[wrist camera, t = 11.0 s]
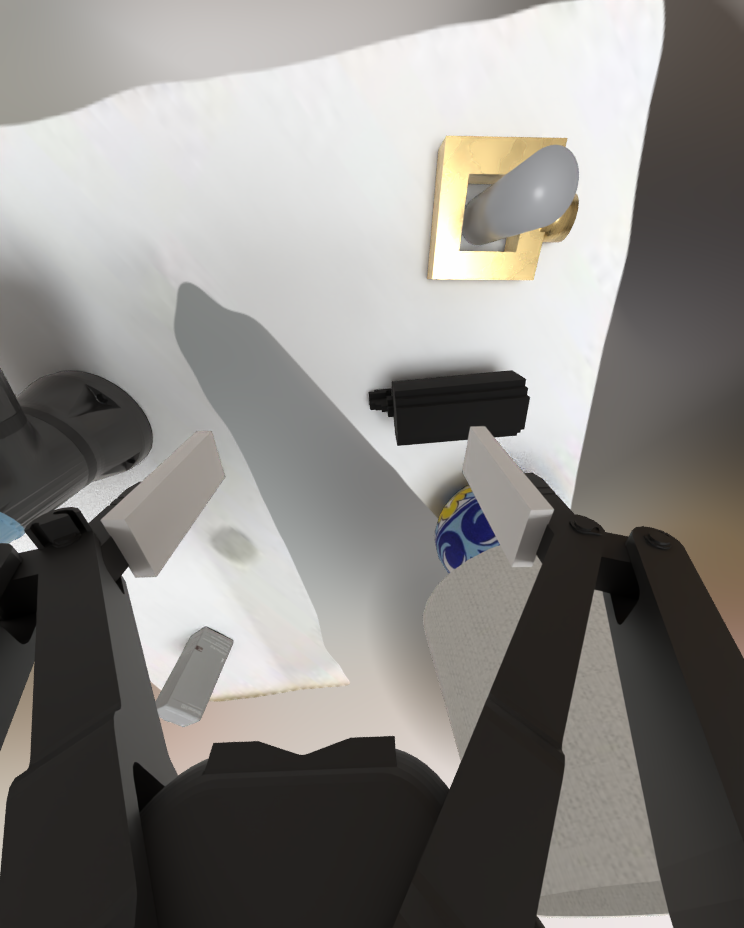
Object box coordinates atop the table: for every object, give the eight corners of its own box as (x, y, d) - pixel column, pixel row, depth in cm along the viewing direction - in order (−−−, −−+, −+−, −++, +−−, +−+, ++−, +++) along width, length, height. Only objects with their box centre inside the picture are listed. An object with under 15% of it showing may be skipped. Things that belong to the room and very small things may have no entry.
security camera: (367, 374, 42) (367, 398, 33) (504, 361, 41) (539, 382, 33) (371, 420, 46) (372, 453, 37) (497, 409, 45) (528, 440, 36)
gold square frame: (427, 278, 36) (433, 278, 33) (438, 149, 31) (447, 133, 27) (540, 280, 36) (558, 280, 33) (572, 152, 31) (598, 136, 27)
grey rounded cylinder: (458, 245, 35) (507, 227, 23) (464, 194, 32) (523, 144, 20) (497, 245, 35) (566, 228, 23) (506, 194, 32) (588, 145, 20)
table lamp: (480, 412, 45) (840, 838, 11) (594, 494, 53) (1008, 886, 19) (376, 528, 57) (390, 913, 22) (483, 581, 65) (614, 923, 30)
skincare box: (234, 640, 75) (205, 720, 61) (216, 650, 77) (184, 730, 63) (204, 624, 71) (166, 706, 58) (187, 636, 73) (146, 717, 60)
